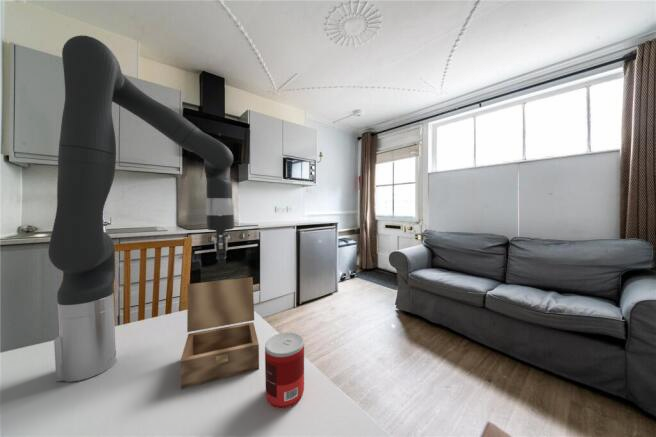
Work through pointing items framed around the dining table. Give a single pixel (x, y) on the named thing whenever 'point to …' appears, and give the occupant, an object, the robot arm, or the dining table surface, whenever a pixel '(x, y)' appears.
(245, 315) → the lid
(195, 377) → the box
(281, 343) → the canned food
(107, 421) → the dining table surface
